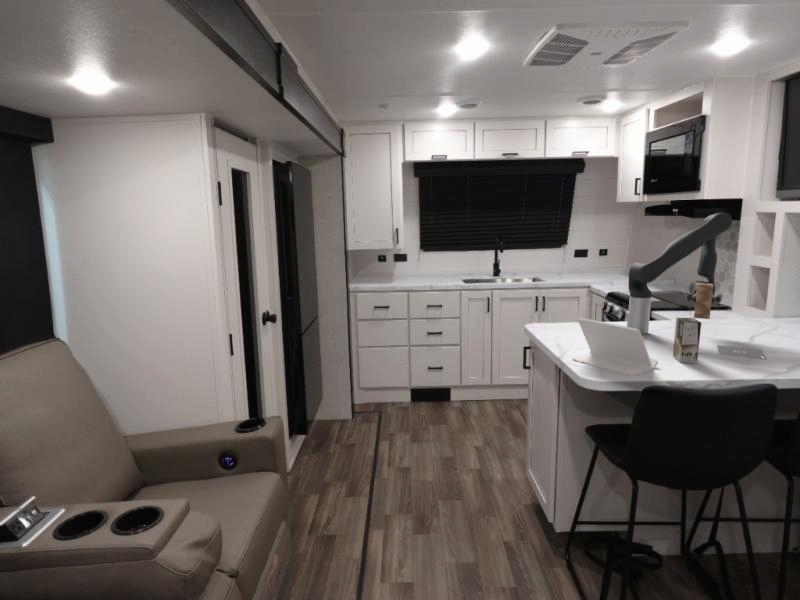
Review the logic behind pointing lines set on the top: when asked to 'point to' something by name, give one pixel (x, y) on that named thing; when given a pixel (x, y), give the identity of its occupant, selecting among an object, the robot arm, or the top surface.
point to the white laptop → (615, 348)
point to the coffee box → (686, 340)
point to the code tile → (741, 352)
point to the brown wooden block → (703, 300)
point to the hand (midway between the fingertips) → (703, 300)
